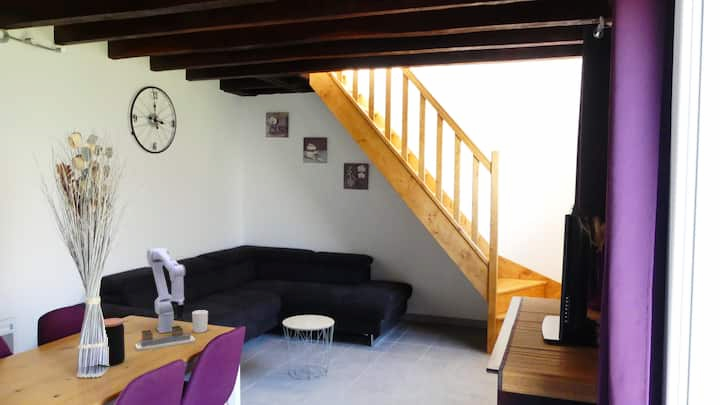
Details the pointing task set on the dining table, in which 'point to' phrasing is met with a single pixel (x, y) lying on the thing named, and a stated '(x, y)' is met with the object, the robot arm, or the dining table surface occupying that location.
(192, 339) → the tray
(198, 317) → the white cup
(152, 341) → the rail
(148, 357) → the dining table surface
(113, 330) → the coffee jar
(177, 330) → the rack
